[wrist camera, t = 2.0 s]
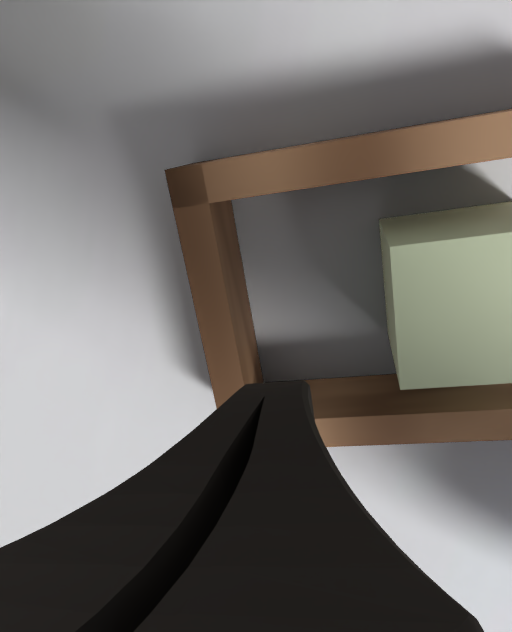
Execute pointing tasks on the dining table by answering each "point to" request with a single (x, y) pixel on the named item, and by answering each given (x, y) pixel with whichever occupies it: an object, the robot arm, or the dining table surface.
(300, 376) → the dining table surface
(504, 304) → the cube
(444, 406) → the frame
